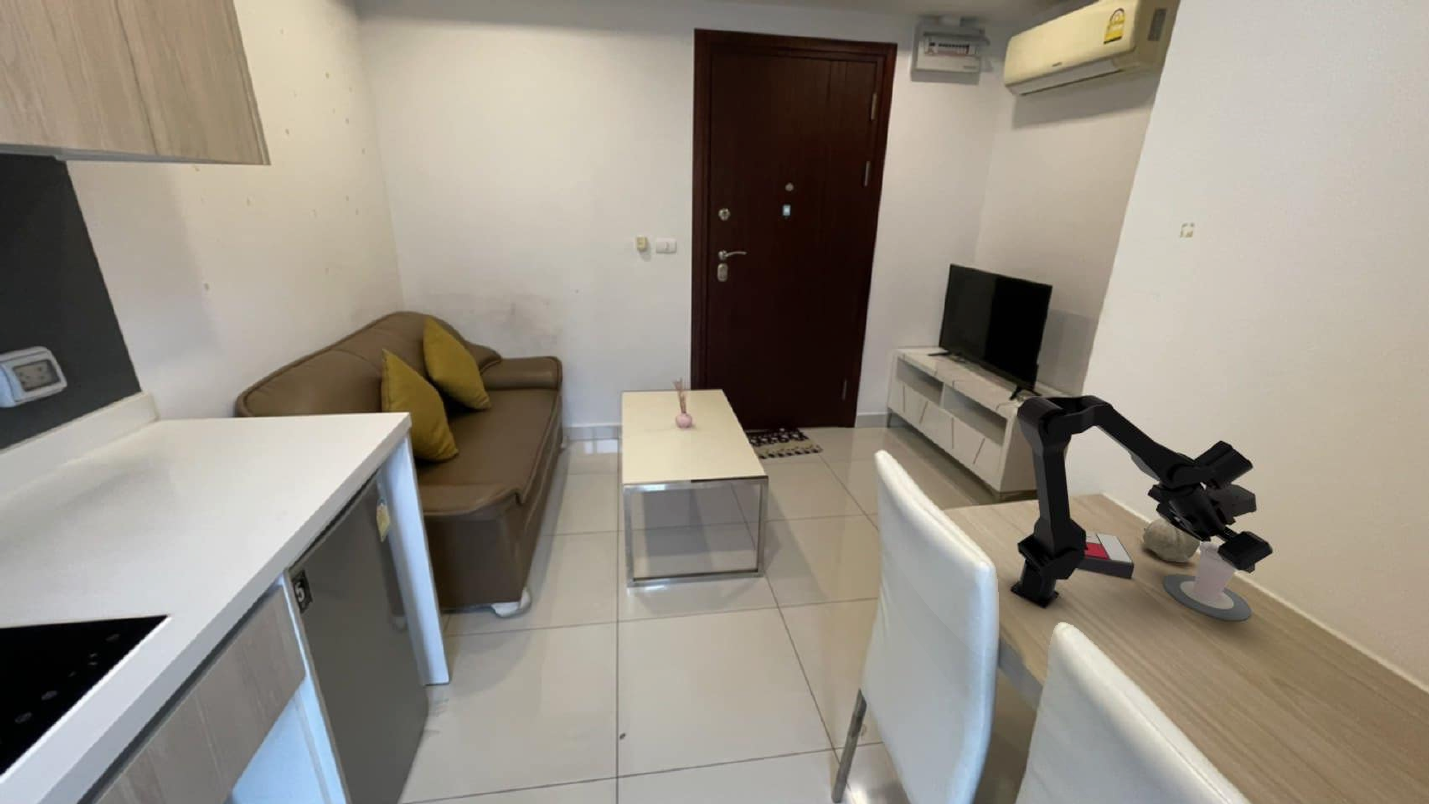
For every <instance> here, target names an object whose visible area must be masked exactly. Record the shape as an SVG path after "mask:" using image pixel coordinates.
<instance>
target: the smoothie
mask: <svg viewBox="0 0 1429 804" xmlns="http://www.w3.org/2000/svg"><path fill="white" fill-rule="evenodd" d="M1234 531H1235V532H1236V533H1238V532H1237V531H1236V530H1234ZM1222 544H1223V543H1220V542H1215V541H1211V542H1200V546H1199V547H1198V549H1199V551H1200V553H1199V559H1198V561H1197V569H1196V573H1195V576H1196V578H1195V583H1194V588H1193V591H1194V592H1195V593H1196V594H1197V595H1199V596H1201V597H1203V598H1205V599H1209V600H1217V599H1218V597H1219V596H1220V594H1221V593H1222V591H1223V590H1224V588H1225V587H1226V586H1227V585H1228V583H1229V582H1230V580H1231V579H1232V578H1233V576H1234V575H1235V573H1236V572H1237V571H1238V570H1237V569H1236V568H1234V567H1232V566H1231V565H1229V564H1228V563H1227V562H1225V561H1224V560H1222V558H1221V557H1220V556H1219V554H1218V553H1217V551H1218V548H1219V546H1220V545H1222ZM1226 588H1227V587H1226Z"/></svg>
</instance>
